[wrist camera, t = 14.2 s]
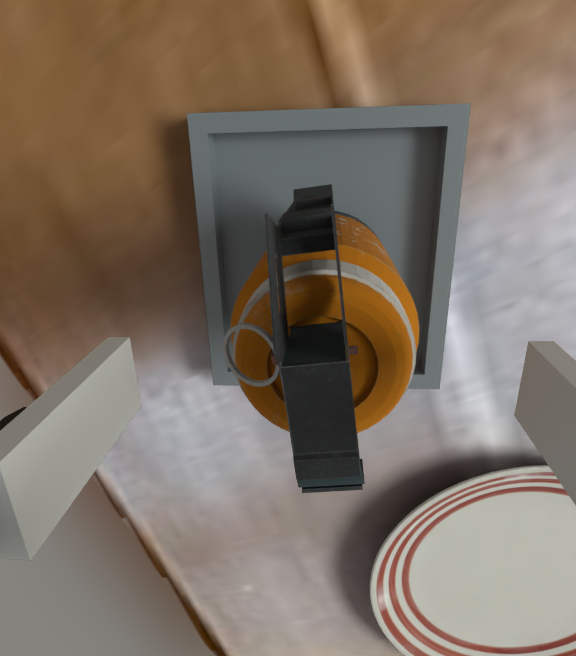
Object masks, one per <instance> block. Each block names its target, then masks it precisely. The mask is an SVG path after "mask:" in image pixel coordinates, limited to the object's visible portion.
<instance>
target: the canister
mask: <svg viewBox="0 0 576 656" xmlns="http://www.w3.org/2000/svg"><path fill="white" fill-rule="evenodd" d="M264 215H265V230H266V244H267V250H266V251H265V253H264V254H263V256H262V257H261V259H260V261H259V262H258V264H257V265H256V267H255V269H254V270H253V272H252V273H251V275H250V277H249V278H248V280H247V281H246V283H245V285H244V286H243V288H242V289H241V291H240V293H239V295H238V297H237V300H236V302H235V305H234V308H233V312H232V317H231V328H230V329H229V330H228V332H227V333H226V334H225V336H224V339H223V354H224V358H225V360H226V363H227V365H228V366H229V368H230V369H231V371H232V372H233V373H234V374H235V375H236V378H237V380H238V383H239V385H240V387H241V389H242V391H243V392H244V394H245V395H246V397H247V398H248V400H249V401H250V402H251V404H252V405H253V406H254V407H255V408H256V409H257V410H258V412H259V413H260V414H261V415H263V416H264V417H265V418H266V419H268V420H269V421H270V422H271V423H273V424H275V425H277V426H278V427H280V428H282V429H284V430H286V431H289V432H290V437H291V443H292V449H293V458H294V467H295V473H296V479H297V482H298V487H302V493H311V492H329V491H348V490H363V487H362V484H365V483H364V473H363V463H362V459H360V457H359V448H358V438H357V433H358V432H361V431H363V430H365V429H368V428H369V427H371V426H373V425H374V424H376V423H378V422H379V421H380V420H382V419H383V418H384V417H385V416H386V415H388V414H389V413H390V412H391V410H392V409H393V408H394V407H395V406H396V405H397V404H398V403H399V401H400V400H401V399H402V397H403V396H404V394H405V392H406V391H407V389H408V387H409V384H410V382H411V380H412V377H413V373H414V369H415V364H416V352H417V347H418V343H419V321H418V313H417V310H416V307H415V304H414V301H413V298H412V297H411V295H410V293H409V291H408V289H407V287H406V285H405V283H404V282H403V280H402V278H401V276H400V275H399V273H398V271H397V269H396V268H395V266H394V264H393V262H392V261H391V259H390V257H389V255H388V254H387V252H386V250H385V248H384V247H383V245H382V243H381V241H380V240H379V238H378V237H377V235H376V234H375V233H374V231H373V230H372V229H371V228H369V227H368V226H367V225H366V224H365V223H364V222H362V221H361V220H359V219H358V218H356V217H353V216H351V215H349V214H346V213H343V212H339V211H335V210H334V201H333V191H332V184H328V185H321V186H314V187H307V188H300V189H293V203H292V204H291V206H290V207H289V208H288V210H287V211H286V213H283V215H282V216H281V218H280V219H279V220H278V224H277V225H276V224H275V223H274V221H273V220H272V219H271V217H270V216H269V215H268V213H264ZM230 338H231V343H232V358H231V355H230V350H229V342H230ZM232 359H233V360H232Z"/></svg>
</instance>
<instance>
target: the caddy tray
mask: <svg viewBox="0 0 576 656" xmlns="http://www.w3.org/2000/svg"><path fill="white" fill-rule="evenodd" d="M470 106H471V103H468V104H440V105H412V106H384V107H355V108H327V109H299V110H271V111H243V112H215V113H187V119H188V130H189V140H190V150H191V161H192V171H193V181H194V192H195V202H196V212H197V222H198V233H199V243H200V253H201V264H202V274H203V284H204V295H205V305H206V315H207V326H208V336H209V346H210V357H211V367H212V377H213V385H239V383H238V380H237V378H236V375H235V374H234V373H233V372H232V371H231V369H230V368H229V366H228V365H227V363H226V360H225V358H224V354H223V339H224V336H225V334H226V333H227V332H228V330H229V329H230V328H231V317H232V312H233V308H234V305H235V302H236V300H237V297H238V295H239V293H240V291H241V289H242V288H243V286H244V285H245V283H246V281H247V280H248V278H249V277H250V275H251V273H252V272H253V270H254V269H255V267H256V265H257V264H258V262H259V261H260V259H261V257H262V256H263V254H264V253H265V251H266V250H267V244H266V230H265V215H264V213H268V215H269V216H270V217H271V219H272V220H273V221H274V223H275V224H276V225H277V224H278V220H279V219H280V218H281V216H282V215H283V213H286V211H287V210H288V208H289V207H290V206H291V204H292V203H293V189H300V188H307V187H314V186H321V185H328V184H332V191H333V201H334V210H335V211H339V212H343V213H346V214H349V215H351V216H353V217H356V218H358V219H359V220H361V221H362V222H364V223H365V224H366V225H367V226H368V227H369V228H371V229H372V230H373V231H374V233H375V234H376V235H377V237H378V238H379V240H380V241H381V243H382V245H383V247H384V248H385V250H386V252H387V254H388V255H389V257H390V259H391V261H392V262H393V264H394V266H395V268H396V269H397V271H398V273H399V275H400V276H401V278H402V280H403V282H404V283H405V285H406V287H407V289H408V291H409V293H410V295H411V297H412V298H413V301H414V304H415V307H416V310H417V313H418V321H419V343H418V347H417V352H416V364H415V369H414V373H413V377H412V380H411V382H410V384H409V387H408V389H440V380H441V370H442V361H443V352H444V343H445V334H446V325H447V316H448V307H449V297H450V288H451V279H452V270H453V261H454V252H455V243H456V234H457V224H458V215H459V206H460V197H461V188H462V179H463V170H464V161H465V151H466V142H467V133H468V124H469V115H470ZM229 350H230V355H231V358H232V343H231V338H230V342H229ZM232 360H233V359H232Z"/></svg>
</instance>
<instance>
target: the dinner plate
mask: <svg viewBox="0 0 576 656" xmlns="http://www.w3.org/2000/svg"><path fill="white" fill-rule="evenodd" d="M370 600H371V605H372V609H373V612H374V615H375V618H376V620H377V622H378V625H379V626H380V628H381V630H382V631H383V633H384V634H385V636H386V637H387V638H388V640H389V641H390V642H391V643H392V644H393V645H394V646H395V647H396V648H397V649H398V650H399V651H400V652H401V653H402V654H403V655H404V656H576V505H575V504H574V502H573V501H572V499H571V498H570V496H569V495H568V494H567V492H566V491H565V489H564V488H563V486H562V485H561V483H560V482H559V480H558V479H557V477H556V476H555V474H554V473H553V471H552V470H551V469H550V467H549V466H548V465H542V466H524V467H515V468H510V469H504V470H499V471H494V472H490V473H486V474H483V475H479V476H476V477H473V478H470V479H468V480H465V481H462V482H460V483H458V484H455V485H453V486H451V487H449V488H447V489H445V490H443V491H441V492H439V493H437V494H436V495H434V496H432V497H431V498H429V499H428V500H426V501H425V502H423V503H422V504H420V505H419V506H418V507H416V508H415V509H414V510H412V511H411V512H410V513H409V514H408V515H407V516H406V517H405V518H404V519H403V520H401V521H400V522H399V523H398V525H397V526H396V527H395V528H394V529H393V530H392V532H391V533H390V534H389V535H388V537H387V538H386V540H385V541H384V543H383V544H382V546H381V548H380V550H379V552H378V554H377V556H376V558H375V561H374V564H373V567H372V571H371V577H370Z"/></svg>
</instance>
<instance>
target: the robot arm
mask: <svg viewBox="0 0 576 656" xmlns="http://www.w3.org/2000/svg"><path fill="white" fill-rule="evenodd" d="M140 408H141V401H140V395H139V389H138V383H137V378H136V372H135V366H134V360H133V354H132V349H131V343H130V337H108V338H106V339H105V340H104V341H103V342H102V343H101V344H100V345H98V346H97V347H96V348H95V349H94V350H93V351H91V352H90V353H89V354H88V355H87V356H86V357H85V358H83V359H82V360H81V361H80V362H79V363H78V364H77V365H75V366H74V367H73V368H72V369H71V370H70V371H68V372H67V373H66V374H65V375H64V376H63V377H62V378H60V379H59V380H58V381H57V382H56V383H55V384H53V385H52V386H51V387H50V388H49V389H48V390H47V391H45V392H44V393H43V394H42V395H41V396H40V397H39V398H37V399H36V400H35V401H34V402H33V403H32V404H30V405H29V406H28V407H23V408H21V409H19V410H17V411H15V412H14V413H12V414H10V415H8V416H6V417H4V418H3V419H2V420H1V421H0V559H9V560H10V559H11V560H28V561H31V559H32V558H33V556H34V555H35V554H36V552H37V551H38V550H39V548H40V547H41V545H42V544H43V542H44V541H45V540H46V538H47V537H48V536H49V534H50V533H51V531H52V530H53V529H54V527H55V526H56V525H57V523H58V522H59V520H60V519H61V518H62V516H63V515H64V513H65V512H66V511H67V509H68V508H69V506H70V505H71V504H72V502H73V501H74V499H75V498H76V497H77V495H78V494H79V493H80V491H81V490H82V488H83V487H84V485H85V484H86V483H87V481H88V480H89V479H90V477H91V476H92V474H93V473H94V472H95V470H96V469H97V468H98V466H99V465H100V463H101V462H102V461H103V459H104V458H105V456H106V455H107V454H108V452H109V451H110V449H111V448H112V447H113V445H114V444H115V442H116V441H117V440H118V438H119V437H120V436H121V434H122V433H123V431H124V430H125V429H126V427H127V426H128V424H129V423H130V422H131V420H132V419H133V417H134V416H135V415H136V413H137V412H138V410H139V409H140ZM514 416H515V417H516V418H517V420H518V421H519V423H520V424H521V426H522V427H523V429H524V430H525V432H526V433H527V435H528V436H529V438H530V439H531V441H532V442H533V443H534V445H535V446H536V448H537V449H538V451H539V452H540V454H541V455H542V457H543V458H544V460H545V461H546V463H547V464H548V466H549V467H550V469H551V470H552V471H553V473H554V474H555V476H556V477H557V479H558V480H559V482H560V483H561V485H562V486H563V488H564V489H565V491H566V492H567V494H568V495H569V496H570V498H571V499H572V501H573V502H574V504H575V505H576V361H575V360H574V359H573V358H572V357H571V356H570V355H569V354H567V353H566V352H565V351H564V350H563V349H562V348H561V347H559V346H558V345H557V344H556V343H555V342H554V341H528V346H527V352H526V357H525V362H524V368H523V373H522V378H521V383H520V389H519V394H518V399H517V404H516V410H515V415H514Z"/></svg>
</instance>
